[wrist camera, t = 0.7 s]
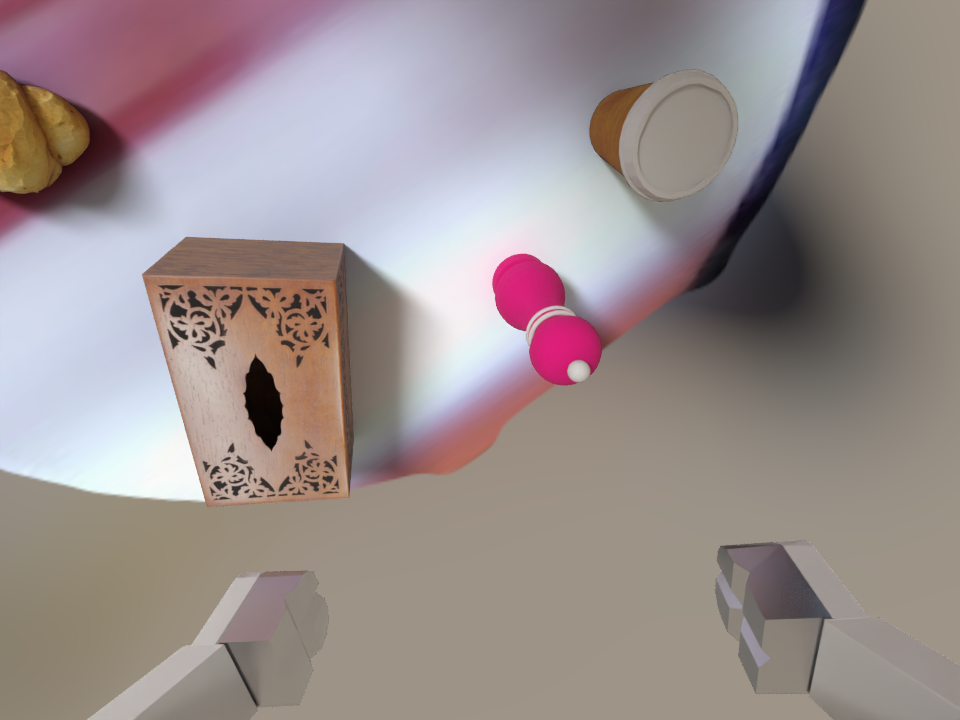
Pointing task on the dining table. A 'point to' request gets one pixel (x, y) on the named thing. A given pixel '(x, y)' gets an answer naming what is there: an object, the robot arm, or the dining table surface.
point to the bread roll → (36, 136)
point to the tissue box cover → (259, 365)
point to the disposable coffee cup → (667, 133)
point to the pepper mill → (546, 320)
